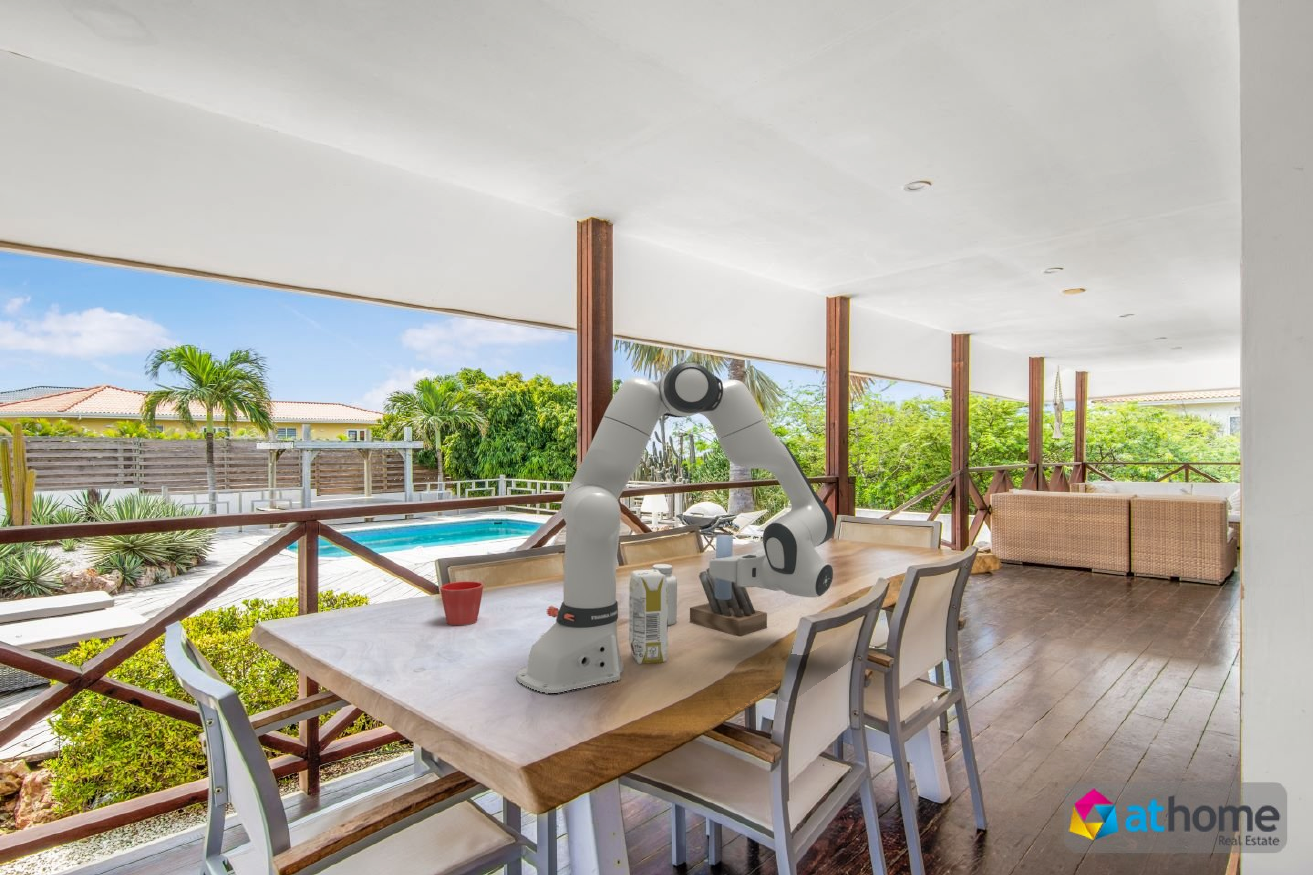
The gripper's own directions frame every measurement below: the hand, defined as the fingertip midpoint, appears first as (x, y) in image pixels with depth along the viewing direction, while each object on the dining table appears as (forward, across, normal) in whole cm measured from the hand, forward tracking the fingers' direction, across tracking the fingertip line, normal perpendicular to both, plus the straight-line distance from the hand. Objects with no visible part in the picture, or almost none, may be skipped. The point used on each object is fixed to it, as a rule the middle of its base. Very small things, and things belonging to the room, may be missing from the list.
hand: (721, 559), depth 164 cm
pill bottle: (+20, +1, +20) cm, 28 cm away
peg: (-1, 0, +9) cm, 9 cm away
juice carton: (+1, +23, +20) cm, 30 cm away
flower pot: (+56, +40, +21) cm, 72 cm away
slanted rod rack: (+6, -10, +20) cm, 23 cm away
